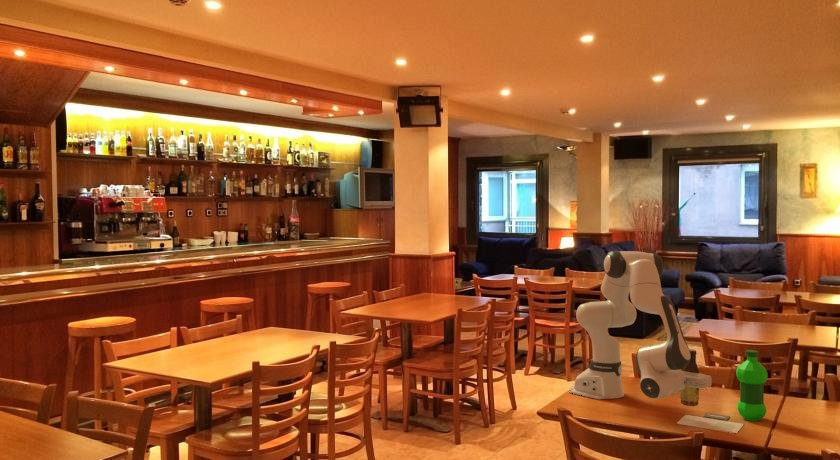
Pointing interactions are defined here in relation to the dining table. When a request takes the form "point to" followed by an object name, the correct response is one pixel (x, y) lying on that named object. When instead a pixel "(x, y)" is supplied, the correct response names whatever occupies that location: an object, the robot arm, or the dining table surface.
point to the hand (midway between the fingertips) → (691, 373)
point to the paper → (710, 424)
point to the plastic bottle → (751, 387)
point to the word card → (716, 416)
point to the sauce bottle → (688, 393)
